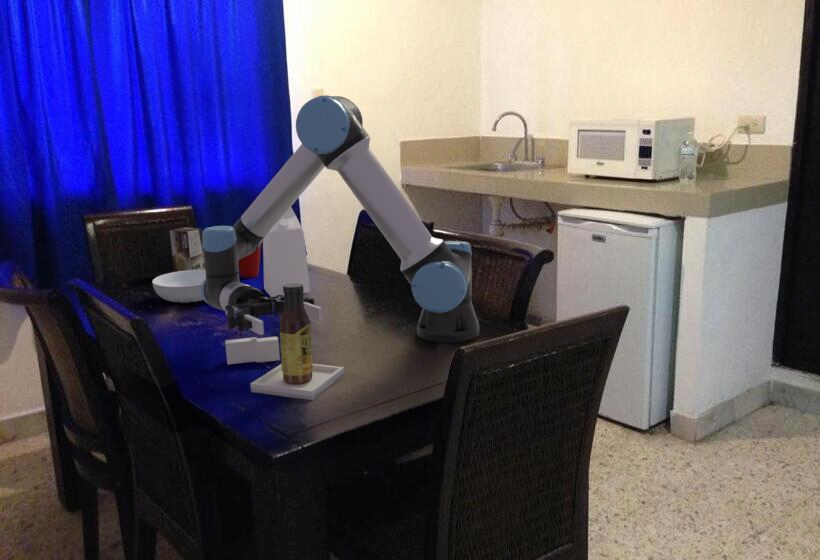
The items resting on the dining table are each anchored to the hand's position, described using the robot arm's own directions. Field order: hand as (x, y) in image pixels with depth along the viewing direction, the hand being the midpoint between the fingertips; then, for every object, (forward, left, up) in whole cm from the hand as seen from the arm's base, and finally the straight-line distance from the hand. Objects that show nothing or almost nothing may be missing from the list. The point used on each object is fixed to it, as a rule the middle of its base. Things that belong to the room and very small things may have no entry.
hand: (292, 321), depth 150 cm
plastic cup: (+65, -82, -13) cm, 105 cm away
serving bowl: (+65, -51, -14) cm, 84 cm away
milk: (+42, -68, -13) cm, 81 cm away
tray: (-1, 0, -13) cm, 13 cm away
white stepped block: (+16, -9, -14) cm, 23 cm away
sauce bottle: (-1, 0, -13) cm, 13 cm away
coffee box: (+86, -78, -13) cm, 117 cm away
